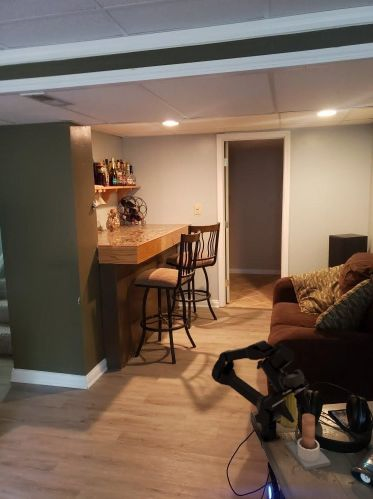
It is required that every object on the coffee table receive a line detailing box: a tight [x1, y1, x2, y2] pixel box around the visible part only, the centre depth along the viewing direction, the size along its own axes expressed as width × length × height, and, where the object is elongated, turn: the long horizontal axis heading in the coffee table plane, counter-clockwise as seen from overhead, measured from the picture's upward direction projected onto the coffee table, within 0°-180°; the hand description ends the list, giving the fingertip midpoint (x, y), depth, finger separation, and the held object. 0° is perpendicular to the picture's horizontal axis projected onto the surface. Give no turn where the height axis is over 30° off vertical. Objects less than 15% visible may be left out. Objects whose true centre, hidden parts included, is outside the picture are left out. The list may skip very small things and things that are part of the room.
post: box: [301, 413, 316, 450], centre depth 128 cm, size 4×4×13 cm
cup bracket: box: [284, 437, 331, 472], centre depth 131 cm, size 13×9×5 cm
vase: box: [280, 390, 298, 428], centre depth 149 cm, size 6×6×14 cm
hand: (301, 416), depth 129 cm, fingers open, 9 cm apart
